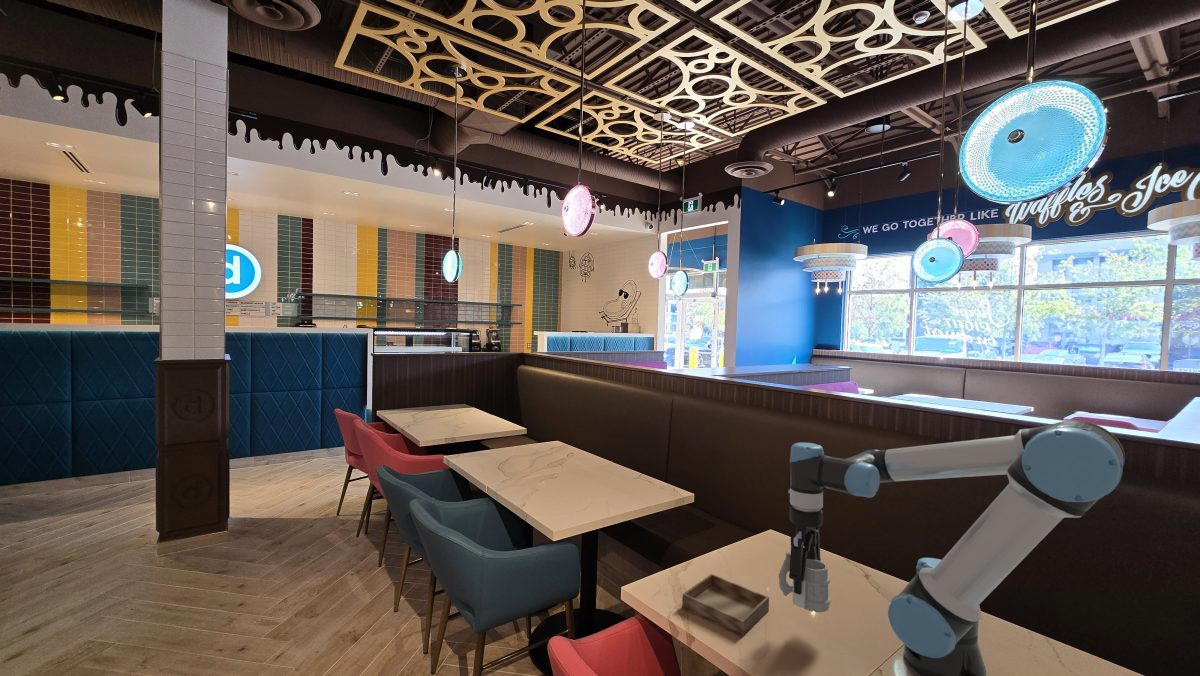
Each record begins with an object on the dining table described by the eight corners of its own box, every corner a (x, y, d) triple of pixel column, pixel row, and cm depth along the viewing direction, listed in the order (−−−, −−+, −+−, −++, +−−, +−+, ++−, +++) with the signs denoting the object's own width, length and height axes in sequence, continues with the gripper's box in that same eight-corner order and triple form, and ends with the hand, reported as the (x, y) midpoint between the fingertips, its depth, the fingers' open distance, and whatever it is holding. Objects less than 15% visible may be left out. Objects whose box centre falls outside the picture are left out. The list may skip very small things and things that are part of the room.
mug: (832, 616, 115) (832, 564, 115) (778, 606, 119) (779, 557, 119) (828, 599, 122) (828, 551, 122) (778, 591, 126) (778, 544, 126)
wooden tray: (768, 611, 130) (769, 597, 130) (742, 637, 119) (743, 621, 118) (710, 586, 141) (711, 573, 141) (682, 608, 130) (682, 594, 130)
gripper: (805, 493, 131) (804, 579, 131) (774, 513, 116) (773, 610, 116) (835, 500, 126) (834, 588, 126) (806, 521, 111) (805, 622, 111)
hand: (805, 598), depth 121 cm, fingers closed on mug, 7 cm apart
